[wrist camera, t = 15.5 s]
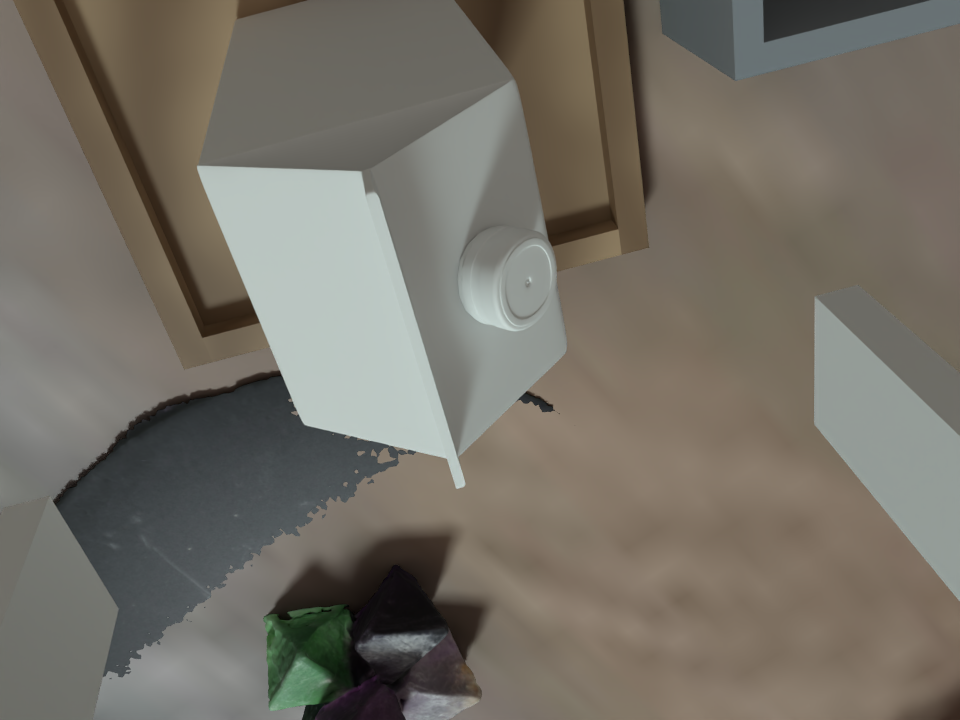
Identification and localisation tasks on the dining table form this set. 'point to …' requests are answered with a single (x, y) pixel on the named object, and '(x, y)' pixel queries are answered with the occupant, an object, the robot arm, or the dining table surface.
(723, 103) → the dining table surface
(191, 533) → the mineral sample
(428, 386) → the milk carton
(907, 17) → the bin
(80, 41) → the tray
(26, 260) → the dining table surface
